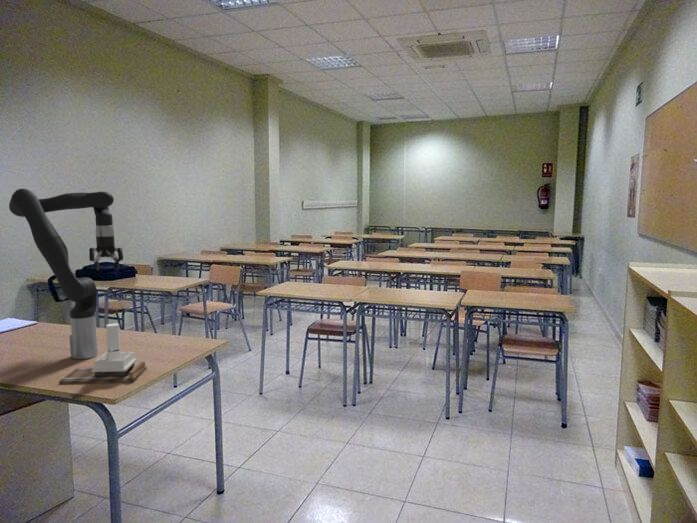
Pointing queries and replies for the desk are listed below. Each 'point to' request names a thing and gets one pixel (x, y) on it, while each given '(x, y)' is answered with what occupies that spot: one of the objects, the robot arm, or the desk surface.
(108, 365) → the white open tray
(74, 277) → the robot arm
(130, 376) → the track
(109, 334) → the tube
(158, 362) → the desk surface
